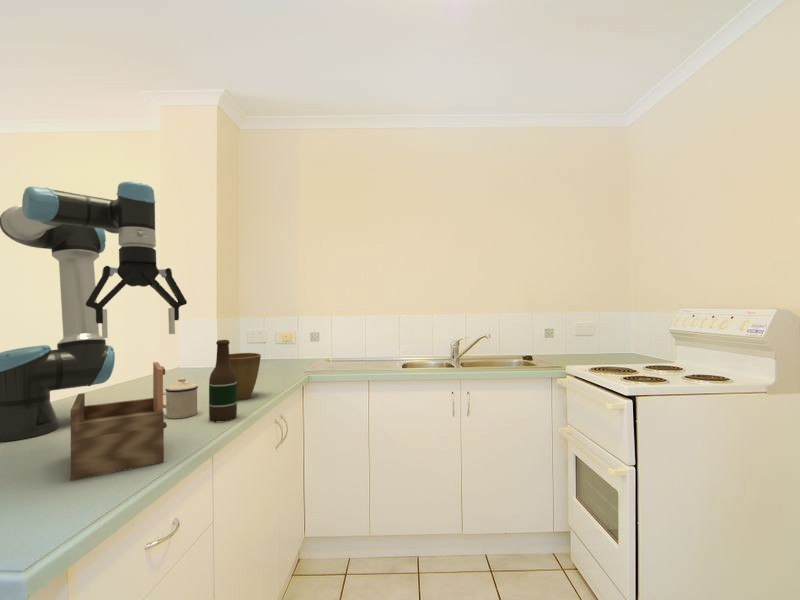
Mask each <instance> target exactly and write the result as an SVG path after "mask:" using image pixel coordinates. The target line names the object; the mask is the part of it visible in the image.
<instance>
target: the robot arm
mask: <svg viewBox="0 0 800 600" xmlns="http://www.w3.org/2000/svg"><path fill="white" fill-rule="evenodd" d="M116 195H117V198H116V199H109V198H103V197H98V196H97V197H96V196H90V195H85V194H79V193H73V192H70V191H69V192H68V191H64V190H57V189H52V188H49V187H38V186H28V187H26V188H25V189H24V193H23V194H22V201H21V204H22V205H15V206H11V207H9V208H7V209H6V210H4V211H3V212H2V213H1V214H0V229H1V232H3V234H5V236H6V237H8V238H9V239H10V240H12V241H14V242H16V243H18V244H21V245H24V246H26V247H30V248H31V247H32V248H37V249H46V250H51V256H52V257H53V259H55V260H56V261H57V262H58V269H59V286H60V287H59V288H60V302H61V304H60V306H61V320H62V323H61V324H62V338H61V340H59V341H58V342H57V343H56V348H57V349H52V347H50V345H48V344H47V345H46V344H43V345H42V344H41V345H35V346H32V345H31V346H27V347H26V346H25V347H20V348H15V349H10V350H9V349H8V350H5V351H2V352H0V442H1V443H2V442H10V441H17V440H23V439H29V438H34V437H37V436H42V435H46V434H49V433H51V432H53V431H55V430H58V428H59V419H58V417H57V414H56V412H55V409H54V407H53V405H52V403H51V392H52V391H53V392H54V391H59V390H67V389H74V388H81V387H91V386H95V385H101V384H104V383H106V382H107V381H108V380H109V379H110V378H111V376H112V374H113V372H114V367H115V361H116V360H115V358H116V355H115V351H114V348H113V346H112V345H109V344H107V343H106V341H107V340H106V339H108V338H109V336H108V309H107V308H104V307H105V306H106V305H107V304H108V303H109V302H110V301H111V300H112V299H113V298H114V297H115V296H116V295H117V294H118V293H119V292H120V291H121V290H122V289H123V288H124V287H125V286H127V285H128V286H129V287H143V288H144V287H148V286H150V287H151V288H152V289H153V290H154V291H155V292H156V293H157V294H158V295H159V296H160V297H161V298H162V300H163V299H164V301H165V302H166V303H167V304H168V305H170V306H171V307H170V308H168V310H167V311H168V312H167V313H168V316H167V317H168V335H176V327H175V326H176V323H175V321H179V319H180V311H179V310H180V307H181V306H185V305H187V303H188V302H187V299H186V298H185V296H184V294H183V292H182V291H181V289H180V288H179V286H178V284H177V282H176V281H175V279H174V277H173V273H172V269H171V268H170V267H167V268H165V269H162V268H161V269H158V267H157V250H156V249H155V247H157V246H156V245H157V243H156V242H157V239H156V238H157V237H156V199H155V193H154V189H153V187H152V186H150V185H149V184H146V183H143V182H138V181H123V182H120V183H119V184H118V185H117V193H116ZM106 232H107V233H110V234H118V245H119V246H120V248H119V249H118V267H111V266H109V265H105V266H104V267H103V268H102V273H101V274H102V275H101V277H100V279H99V281H98V282H97V283H96V277H95V275H96V273H95V261H96V260H97V259H98V258H100V254H101V253H103V252H104V251H105V249H106V241H107V238H106ZM114 274H117V275H118V276H119V277H120V278H121V280H120V281H119V282H118V283H117V284H116V285H115V286H114V287H113V288H112V289H111V290H109V292H108V293H107V294H106V295H104V297H103V298H101V300H100V301H98V302H97V300H98V299H97V298H98V297H99V296H100V293H101V291H102V290H103V289H104V287H105V285H106V283H107V282H108V280H109V278H111V277H113V276H114ZM159 275H160V276H161V277H162V278H163V279H165V282H166V284H167V286H168V287H169V289H170V290H171V292H172V293H173V296H174V297H175V298H174V297H173V296H171V294H170V293H169V292H168V291H167V290H166V289H165V288H164V287H163V286H162V285H161V284H160V282H158V281H157V279H156V278H157V277H158V276H159ZM99 324H101V335H100V331H99Z"/></svg>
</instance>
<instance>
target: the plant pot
mask: <svg viewBox="0 0 800 600" xmlns="http://www.w3.org/2000/svg"><path fill="white" fill-rule="evenodd" d="M229 358H230V365H231V367H232V368H233V370H234V371H235V374H236V379H237V401H240V400H242V399H243V400H247V398H248V399H251V397H252V395H253V392H254V389H255V386H256V382H257V379H258V374H259V370H260V365H261V364H260V363H261V358H262V354H260V353H256V352H237V353H235V352H234V353H229Z"/></svg>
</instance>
